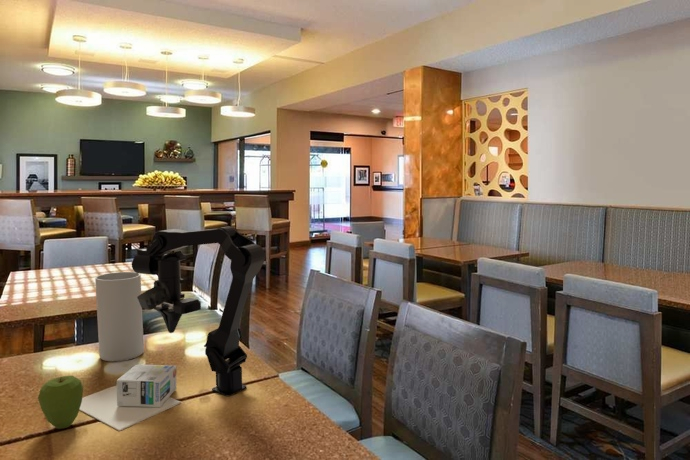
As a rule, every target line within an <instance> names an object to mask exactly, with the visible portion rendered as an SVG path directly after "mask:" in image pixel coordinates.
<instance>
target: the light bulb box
mask: <svg viewBox="0 0 690 460" xmlns="http://www.w3.org/2000/svg"><path fill="white" fill-rule="evenodd" d="M177 372H178V371H177V365H170V364H169V365H162V364H141V363H140V364H139V363H138V364H135V365H133V366H132V368H130V369H129V370H128V371H126V372H125V373H123V375H121V376H120V377H118V379H117V380H116V385H117V406H138V407H161V406H162V405H163V404H164V402H165V401H166V400H167V399H168V397H171V395H172V394H173V393H174V392H176V390H177V374H178V373H177Z"/></svg>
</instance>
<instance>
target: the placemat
mask: <svg viewBox="0 0 690 460" xmlns="http://www.w3.org/2000/svg"><path fill="white" fill-rule="evenodd" d="M181 403H182V401H181V400H178V399H175V398H172V397H171V396H169V397H168V399H167V400H166V401H165V402H164V404H163V405H162V406H161V407H138V406H117V384H116V385H112V386H111V387H107V388H105V389H102V390H99V391H97V392H94V393H92V394H89V395H86V396H84V397H83V396H82V403H81V406H80V409H79V412H80V411H81V412H82V413H84V414H86V415H88V416H90V417H92V418H93V419H95V420H97V421H100V422H101V423H103V424H105V425H107V426H109V427H111V428H113V430H114V429H115V430H116V431H119V432H120V431H123V430H125V429H127V428H129V427H131V426H134V425H136V424H138V423H141V422H142V421H145V420H147V419H149V418H151V417H154V416H156V415H158V414H160V413H162V412H164V411H166V410H169V409H172V408H173V407H175V406H178V405H179V404H181Z"/></svg>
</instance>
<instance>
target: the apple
mask: <svg viewBox="0 0 690 460" xmlns="http://www.w3.org/2000/svg"><path fill="white" fill-rule="evenodd" d="M83 393H84V385H83V383H82V381H81V379H80V378H78V377H76V376H74V375H63V376H58V377H55V378H52V379H50V380H48V381H46V382H45V383H44V384H43V385H42V386H41V387H40V391H39V394H38V396H37V398H38V399H37V400H38V402H39V407H40V409H41V411H42V414H43V415H44V417H45V419H46V421H47V422H48V423H50V424H51V425H52V426H53V427H54V428H55V429H58V430H62V429H66V428H69V427H71V425H72V424H73V423H74V421H75V420H76V419H77V417H78V415H79V412H80V410H79V409H80V406H81V403H82V398H83Z"/></svg>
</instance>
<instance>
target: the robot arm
mask: <svg viewBox="0 0 690 460" xmlns="http://www.w3.org/2000/svg"><path fill="white" fill-rule="evenodd" d="M210 244H211V245H212V244H219V246H221V249H222V251H223V254H224V255H225V256H226V257H227V258H228V259H229V260H230V271H231V272H230V273H231V276H232V279H231V282H230V287H229V290H228V294H227V296H226V300H225V303H224V307H223V311H222V315H221V318H220V320H219V325H218V327H217V328H215V329H214V330H211V331H208V333H207V337H206V342H205V344H204V345H203V347H204V348H205V350H204V352H205V356H206V358H207V360H208V364H209V367H210V370H211V372H215V385H216V386H213V387H212V388H211V390H212V391H213V392H215V393H217V394H219V395H220V394H221V395H224V396H225V397H230V396H232V395H235V394H237V393H239V392H240V391H244V390H245V389H247V385H246V384H243V366H241V365H242V364H244V363H246V361H247V359H248V354H247V353H246V351H244V349H243V348H242V347H241V346H240V334H239V331H238V329H239V326H240V322H241V319H242V315H243V312H244V308H245V305H246V301H247V299H248V295H249V291H250V288H251V284H252V281H253V279H255V277H256V276H257V275H258V273H259V272H260V271H261V269H262V267H263V264H264V262H265V260H266V252H265V251H264V249H263V247H262V246H260V245H259V244H256V243H255V242H254V241H253V240H252V239H251V238H250V237H249V238H248V237H247V236H245V235H243V234H242V233H240V232H239V231H238V230H237V229H235V228H234V227H232V226H229V225H228V226H224V227H223V226H222V227H218V228H210V229H201V230H200V229H199V230H192V231H191V230H190V231H189V230H186V229H180V228H171V229H164V230H158V231H155V232H154V233H153V236H152V240H151V242H150V243H149V244H148V246H147V248H139V249H138V248H137V250H136V254H135V255H134V257H133V259H132V261H131V269H132V270H133V272H136V273H140V274H141V275H142V274H144V275H153V276H156V275H157V279H156V280H154V282H153V286H152V288H149V289H147V290H146V291H144V292H141V295H139V296H138V297H137V298H138V301H139V303H140V305H141V308H142V309H146V310H148V311H152V310H155V311H156V312H158V313H160V314H161V317H162V318H163V321H164V324H165V327H166V329H167V332H168V333H170V334H172V333H175V330H176V329H177V326H178V324H179V322H180V320H181V318H182V315H185V314H190V313H194V312H196V311H200V310H201V309H202V302H201V301H200V300H199V299H197V298H194V297H187V298H185V293H183V292H182V286H181V285H182V284H184V283H185V279H184V278H182V277H181V262H182V261H185V260H186V261H187V259H188V258H187V256H186V255H185V254H183V253H182V251H181V249H184V248H187V247H189V246H200V245H201V246H202V245H210ZM178 250H179V251H178ZM173 251H175V252H173ZM172 252H173V253H172Z"/></svg>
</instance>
